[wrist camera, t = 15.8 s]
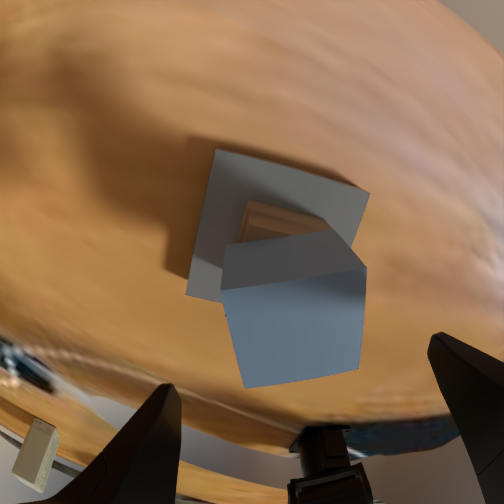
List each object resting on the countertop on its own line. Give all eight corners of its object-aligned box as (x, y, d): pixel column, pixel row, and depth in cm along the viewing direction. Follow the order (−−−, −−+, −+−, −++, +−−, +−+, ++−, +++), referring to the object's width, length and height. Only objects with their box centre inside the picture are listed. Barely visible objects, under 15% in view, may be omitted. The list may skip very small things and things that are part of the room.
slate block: (335, 317, 15) (358, 368, 11) (243, 332, 15) (244, 388, 12) (334, 229, 13) (366, 267, 9) (225, 245, 13) (219, 291, 10)
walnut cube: (300, 286, 20) (315, 332, 15) (228, 271, 19) (225, 316, 15) (324, 219, 18) (350, 250, 14) (247, 199, 18) (249, 224, 13)
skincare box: (34, 415, 31) (9, 470, 20) (57, 427, 32) (34, 485, 21) (40, 431, 33) (19, 481, 22) (61, 442, 34) (42, 494, 23)
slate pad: (314, 306, 23) (319, 321, 21) (190, 281, 22) (185, 295, 20) (358, 187, 19) (370, 193, 18) (218, 147, 18) (215, 149, 16)
